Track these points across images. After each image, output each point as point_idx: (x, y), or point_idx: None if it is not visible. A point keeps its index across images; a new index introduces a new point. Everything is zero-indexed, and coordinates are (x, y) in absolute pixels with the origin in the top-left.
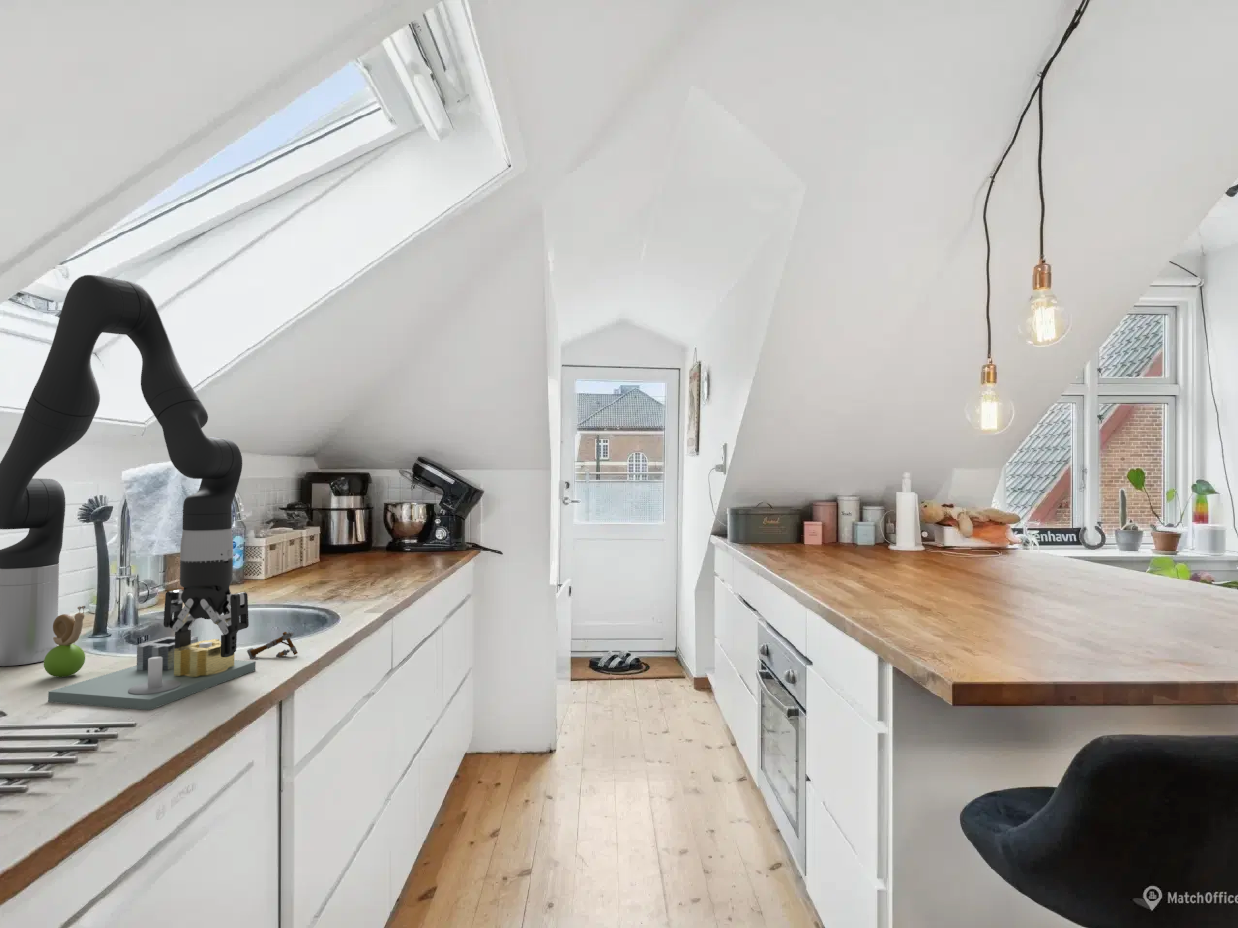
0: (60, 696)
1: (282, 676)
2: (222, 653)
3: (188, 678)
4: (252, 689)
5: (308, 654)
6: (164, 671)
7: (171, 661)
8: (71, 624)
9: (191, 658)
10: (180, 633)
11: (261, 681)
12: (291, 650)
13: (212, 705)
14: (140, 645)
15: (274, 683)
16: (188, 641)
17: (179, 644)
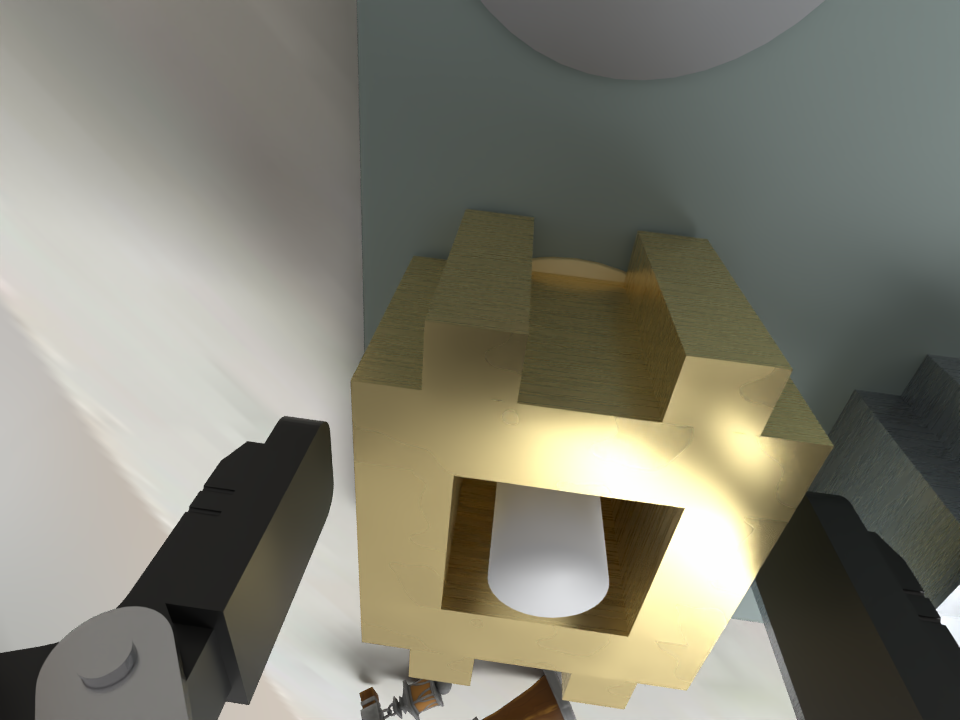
0: None
1: (138, 433)
2: (292, 434)
3: (533, 194)
4: (46, 180)
5: (334, 694)
6: (873, 368)
7: (870, 460)
8: None
9: (514, 290)
10: (909, 706)
11: (162, 346)
12: (376, 707)
13: None
14: None
15: (47, 314)
16: (794, 641)
17: (848, 567)
